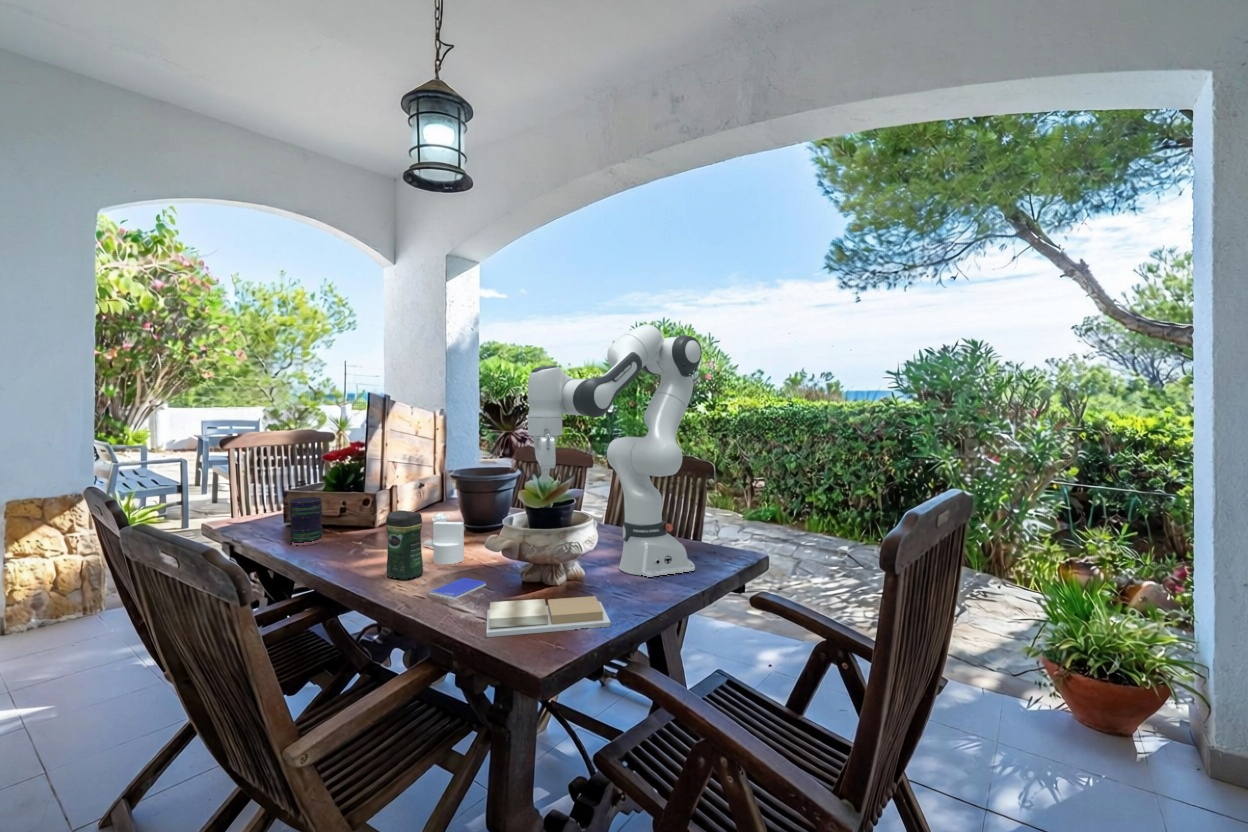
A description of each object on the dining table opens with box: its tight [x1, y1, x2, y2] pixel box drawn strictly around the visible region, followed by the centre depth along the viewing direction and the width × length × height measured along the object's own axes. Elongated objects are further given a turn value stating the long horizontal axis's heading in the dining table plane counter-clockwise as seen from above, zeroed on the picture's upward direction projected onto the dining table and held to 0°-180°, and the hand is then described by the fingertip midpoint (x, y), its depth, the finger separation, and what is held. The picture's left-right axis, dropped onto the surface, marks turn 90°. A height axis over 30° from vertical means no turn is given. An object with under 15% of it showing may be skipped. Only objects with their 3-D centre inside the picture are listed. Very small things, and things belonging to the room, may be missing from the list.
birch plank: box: [489, 598, 548, 628], centre depth 131 cm, size 13×10×2 cm
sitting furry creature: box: [422, 512, 450, 547], centre depth 193 cm, size 10×9×12 cm
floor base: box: [485, 595, 612, 638], centre depth 132 cm, size 27×13×3 cm, turn 102°
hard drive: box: [429, 577, 487, 601], centre depth 152 cm, size 2×8×12 cm
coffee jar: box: [385, 510, 424, 580], centre depth 163 cm, size 10×8×19 cm
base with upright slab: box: [432, 521, 465, 564], centre depth 178 cm, size 9×9×12 cm
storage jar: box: [289, 496, 323, 543], centre depth 199 cm, size 10×10×15 cm
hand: (545, 481), depth 149 cm, fingers closed
